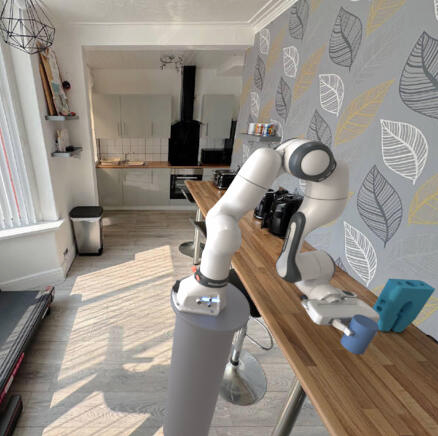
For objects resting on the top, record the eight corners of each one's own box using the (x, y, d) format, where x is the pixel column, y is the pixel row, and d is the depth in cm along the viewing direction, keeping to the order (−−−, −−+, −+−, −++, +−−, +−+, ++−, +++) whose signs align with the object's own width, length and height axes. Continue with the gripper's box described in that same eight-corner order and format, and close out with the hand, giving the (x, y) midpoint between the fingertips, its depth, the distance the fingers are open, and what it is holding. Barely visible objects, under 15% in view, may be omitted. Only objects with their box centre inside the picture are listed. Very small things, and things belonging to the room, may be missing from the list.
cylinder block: (350, 354, 68) (365, 330, 64) (335, 338, 73) (348, 314, 69) (369, 354, 68) (384, 330, 64) (352, 338, 73) (366, 314, 69)
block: (395, 321, 91) (421, 280, 83) (408, 332, 87) (437, 289, 79) (364, 319, 91) (387, 278, 83) (374, 330, 87) (400, 287, 79)
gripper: (301, 292, 78) (332, 326, 65) (358, 292, 79) (400, 326, 67) (295, 306, 81) (324, 342, 68) (351, 306, 82) (390, 341, 69)
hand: (363, 334), depth 67 cm, fingers closed on cylinder block, 5 cm apart
